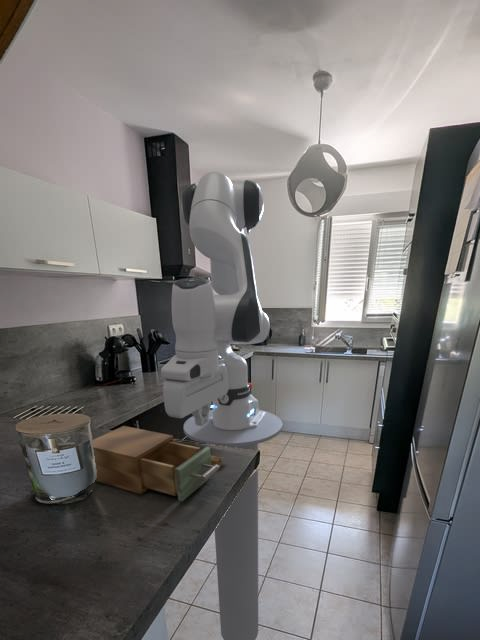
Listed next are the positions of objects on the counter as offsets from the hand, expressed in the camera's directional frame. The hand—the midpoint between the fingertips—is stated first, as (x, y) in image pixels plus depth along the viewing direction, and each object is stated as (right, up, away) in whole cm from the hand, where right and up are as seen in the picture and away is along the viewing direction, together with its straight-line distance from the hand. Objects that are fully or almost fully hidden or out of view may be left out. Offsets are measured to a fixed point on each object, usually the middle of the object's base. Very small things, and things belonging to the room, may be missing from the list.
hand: (202, 423), depth 80 cm
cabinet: (-19, -13, +11) cm, 25 cm away
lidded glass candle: (-34, -16, +4) cm, 38 cm away
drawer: (-6, -14, +5) cm, 16 cm away
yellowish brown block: (-1, -10, +15) cm, 18 cm away
